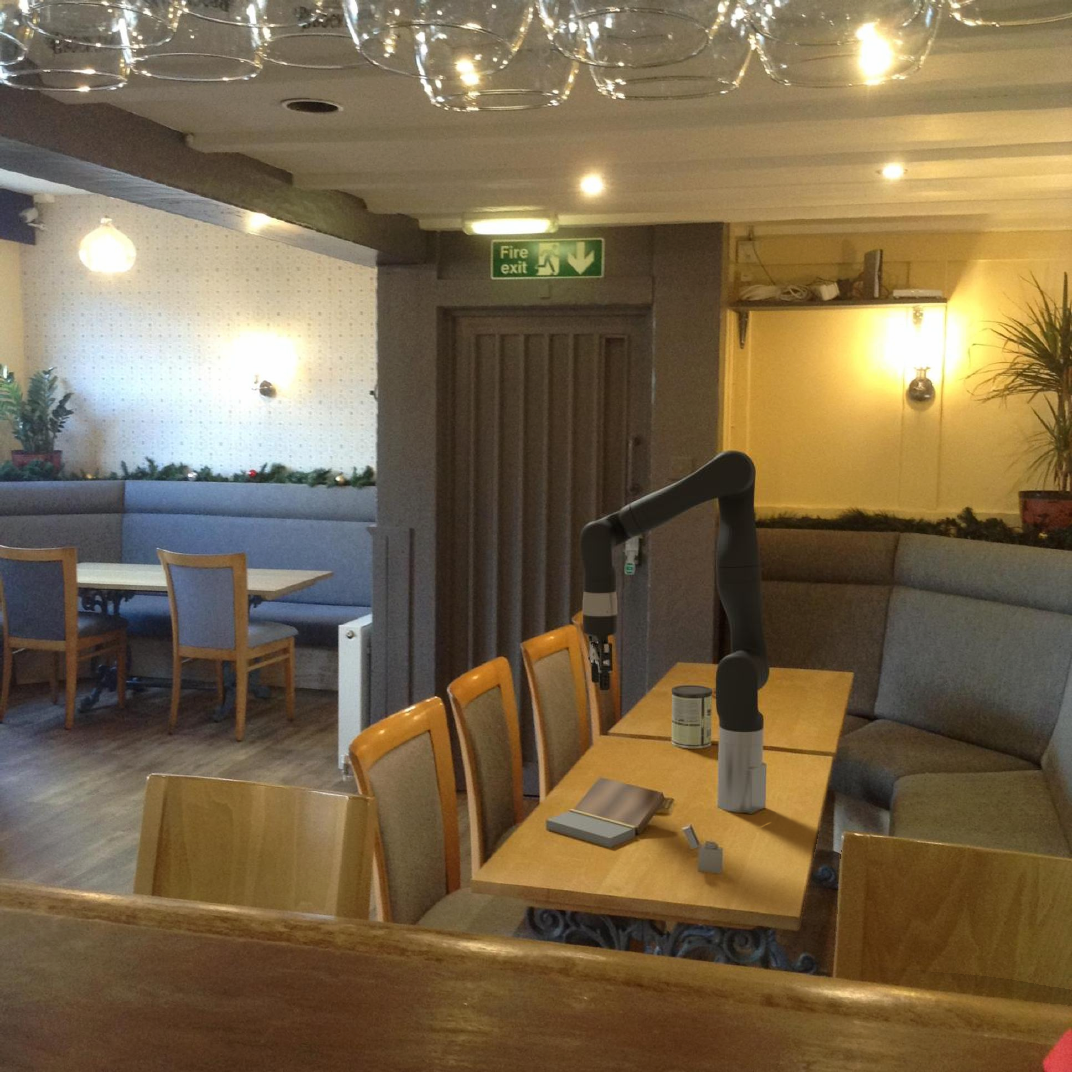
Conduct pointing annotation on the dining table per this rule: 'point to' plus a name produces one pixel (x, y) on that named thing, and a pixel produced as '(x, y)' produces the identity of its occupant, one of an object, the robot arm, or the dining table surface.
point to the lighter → (705, 852)
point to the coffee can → (691, 716)
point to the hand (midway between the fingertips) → (600, 685)
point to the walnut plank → (621, 803)
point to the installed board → (591, 828)
